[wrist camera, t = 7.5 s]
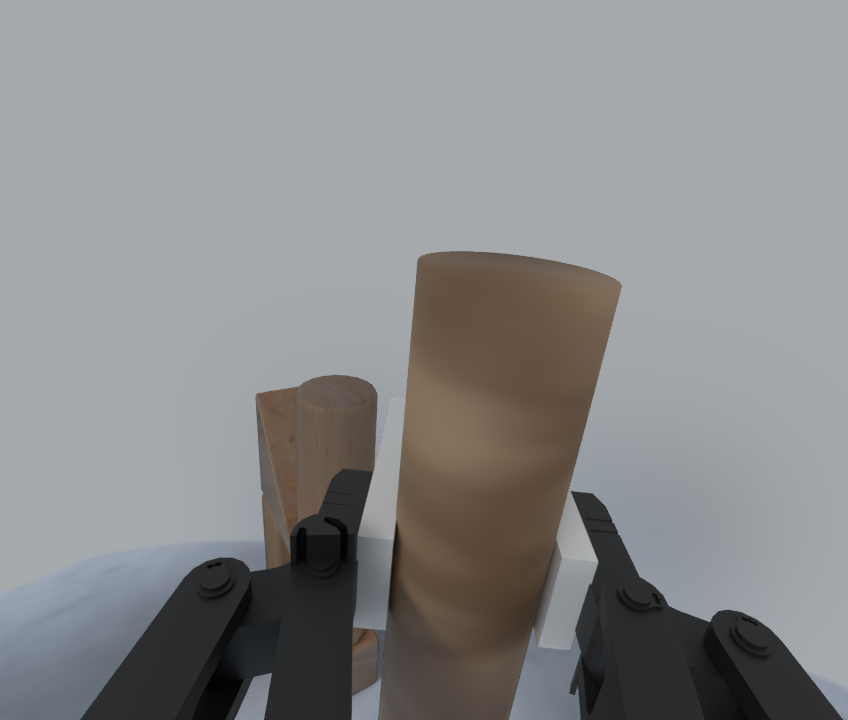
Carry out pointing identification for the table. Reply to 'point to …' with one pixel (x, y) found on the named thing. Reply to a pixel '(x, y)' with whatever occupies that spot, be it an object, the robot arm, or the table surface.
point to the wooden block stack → (314, 469)
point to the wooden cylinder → (485, 471)
